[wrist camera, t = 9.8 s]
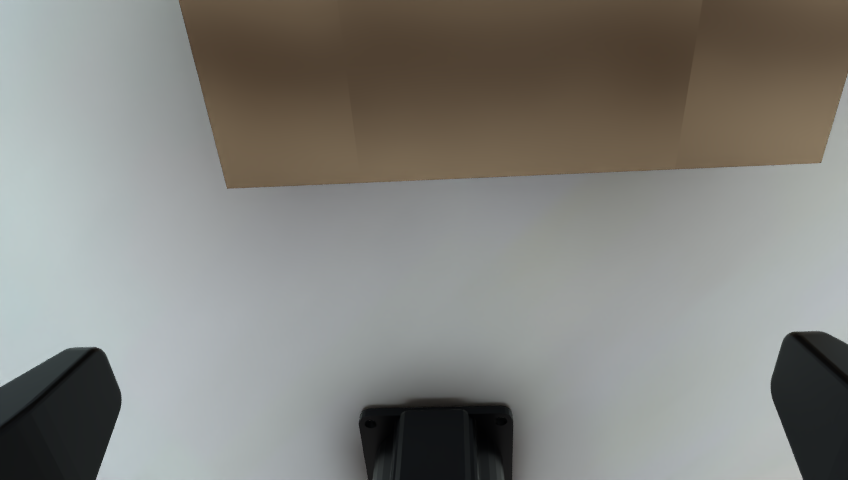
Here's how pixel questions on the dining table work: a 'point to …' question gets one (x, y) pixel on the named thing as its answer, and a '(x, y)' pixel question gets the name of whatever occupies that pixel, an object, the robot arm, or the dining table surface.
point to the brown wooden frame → (513, 86)
